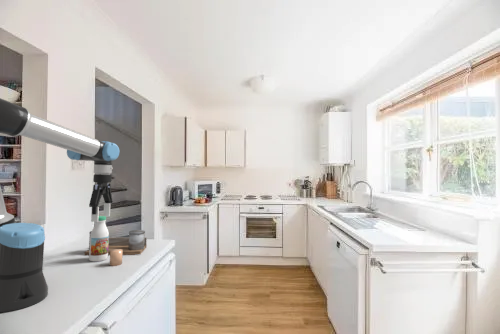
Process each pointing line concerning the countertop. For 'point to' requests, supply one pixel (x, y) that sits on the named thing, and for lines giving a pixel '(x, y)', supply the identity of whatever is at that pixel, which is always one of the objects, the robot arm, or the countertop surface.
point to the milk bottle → (99, 241)
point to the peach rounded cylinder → (116, 257)
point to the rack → (127, 243)
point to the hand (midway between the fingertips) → (101, 218)
